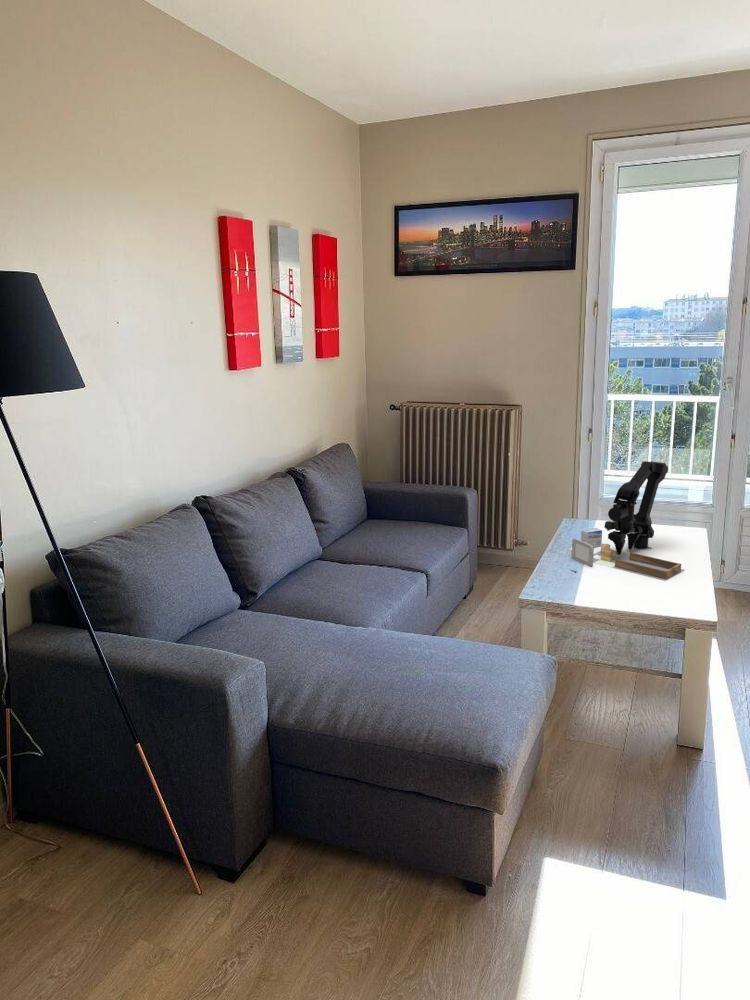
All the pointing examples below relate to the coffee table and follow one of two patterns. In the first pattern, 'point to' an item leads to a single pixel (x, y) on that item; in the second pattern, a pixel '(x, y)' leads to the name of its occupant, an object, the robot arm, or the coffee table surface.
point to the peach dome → (605, 546)
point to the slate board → (626, 558)
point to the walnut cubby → (671, 566)
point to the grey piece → (582, 552)
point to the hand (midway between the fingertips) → (624, 552)
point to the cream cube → (570, 551)
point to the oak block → (607, 554)
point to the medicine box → (592, 537)
